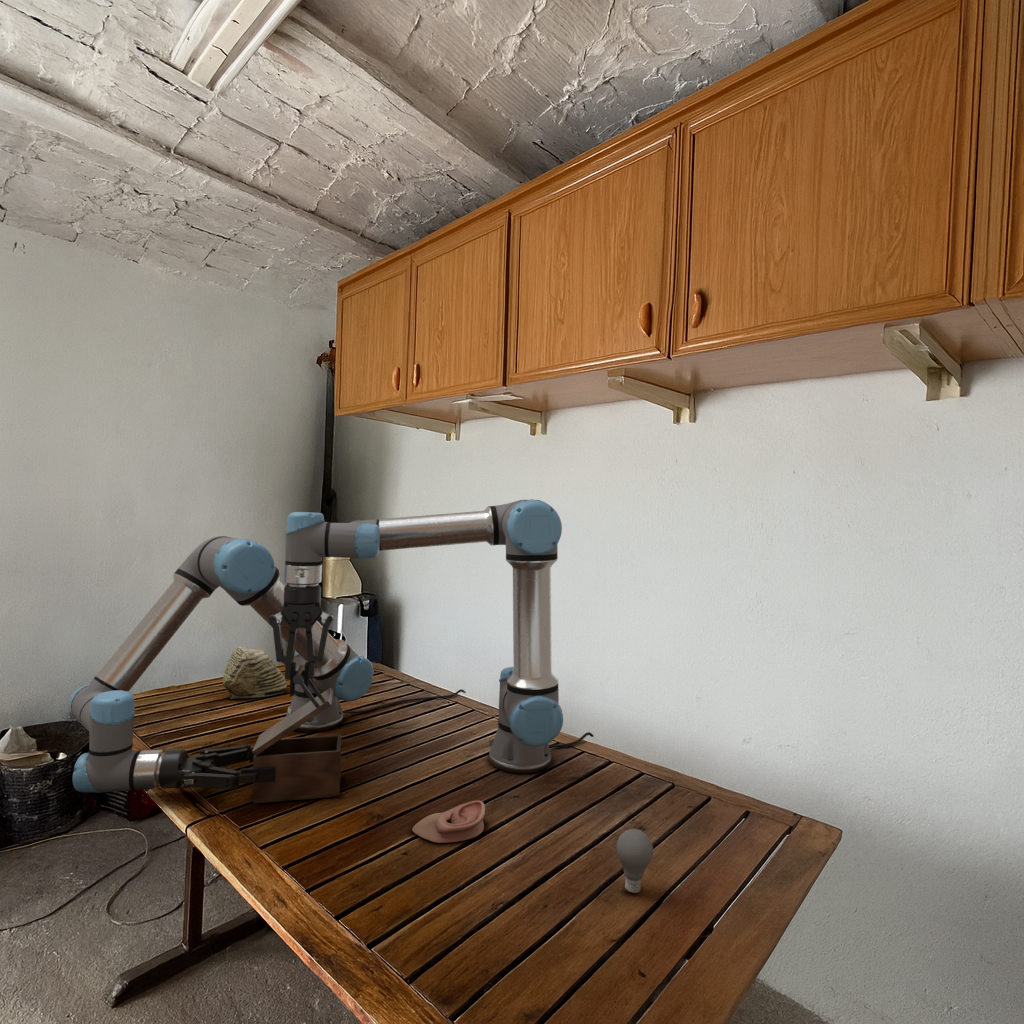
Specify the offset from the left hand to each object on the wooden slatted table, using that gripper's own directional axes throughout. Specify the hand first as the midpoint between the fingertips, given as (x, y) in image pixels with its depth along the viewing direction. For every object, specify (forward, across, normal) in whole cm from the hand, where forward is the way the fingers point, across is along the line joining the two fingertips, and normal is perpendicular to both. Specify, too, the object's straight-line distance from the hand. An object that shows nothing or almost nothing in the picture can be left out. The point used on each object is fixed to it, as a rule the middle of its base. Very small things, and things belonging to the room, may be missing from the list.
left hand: (278, 764), depth 135 cm
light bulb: (+62, +44, -6) cm, 77 cm away
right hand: (+4, 0, +15) cm, 15 cm away
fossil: (-16, -68, -6) cm, 70 cm away
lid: (+3, 0, +9) cm, 9 cm away
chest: (+4, 0, -6) cm, 7 cm away
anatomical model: (+34, +20, -6) cm, 40 cm away
